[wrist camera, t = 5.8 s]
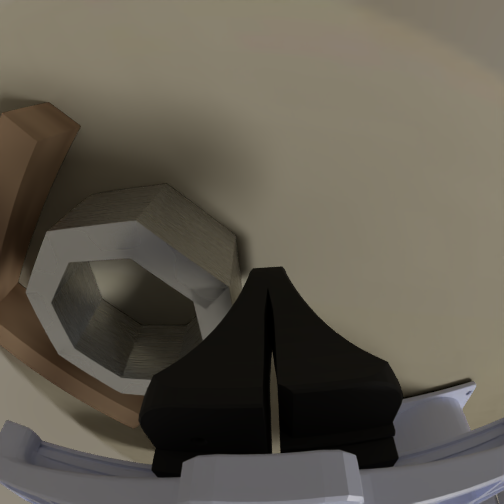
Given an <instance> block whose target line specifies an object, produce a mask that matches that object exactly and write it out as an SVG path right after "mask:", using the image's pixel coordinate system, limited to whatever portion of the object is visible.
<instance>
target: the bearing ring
mask: <svg viewBox="0 0 504 504" xmlns="http://www.w3.org/2000/svg"><path fill="white" fill-rule="evenodd" d="M127 258H131V259H132V260H133V261H135V262H136V263H138V264H139V265H141V266H142V267H143V268H145V269H146V270H148V271H149V272H151V273H152V274H153V275H155V276H156V277H158V278H159V279H161V280H162V281H164V282H165V283H167V284H168V285H170V286H171V287H172V288H174V289H175V290H177V291H178V292H180V293H181V294H183V295H184V296H186V297H187V298H189V299H190V300H192V301H193V302H194V306H195V310H196V315H197V316H196V317H195V318H194V319H193V320H192V321H191V322H190V323H189V324H188V325H170V326H142V325H140V324H139V323H137V322H136V321H134V320H133V319H131V318H129V317H128V316H126V315H125V314H123V313H122V312H120V311H119V310H117V309H116V308H114V307H113V306H112V305H110V304H109V303H107V302H106V301H104V300H103V299H102V297H101V294H100V292H99V289H98V286H97V284H96V281H95V278H94V276H93V273H92V270H91V267H90V264H89V262H88V261H97V260H112V259H127ZM241 291H242V283H241V275H240V267H239V258H238V250H237V242H236V235H234V234H233V233H232V232H230V231H229V230H228V229H226V228H225V227H224V226H222V225H221V224H220V223H218V222H217V221H216V220H214V219H213V218H212V217H210V216H209V215H208V214H206V213H205V212H204V211H202V210H201V209H200V208H198V207H197V206H196V205H194V204H193V203H192V202H190V201H189V200H188V199H186V198H185V197H184V196H182V195H181V194H180V193H178V192H177V191H176V190H174V189H173V188H172V187H170V186H169V185H168V184H160V185H152V186H144V187H137V188H130V189H123V190H117V191H110V192H104V193H98V194H92V195H90V196H89V197H88V198H86V199H85V200H84V201H83V202H81V203H80V204H79V205H78V206H76V207H75V208H74V209H73V210H71V211H70V212H69V213H68V214H67V215H65V216H64V217H63V218H62V219H61V220H59V221H58V222H57V223H56V224H55V225H54V226H52V227H51V228H50V229H49V230H48V231H47V232H46V235H45V237H44V240H43V242H42V245H41V248H40V250H39V253H38V256H37V259H36V262H35V265H34V267H33V270H32V273H31V277H30V280H29V283H28V286H27V289H26V294H27V297H28V299H29V301H30V303H31V305H32V307H33V309H34V311H35V313H36V315H37V317H38V319H39V321H40V322H41V324H42V326H43V328H44V330H45V332H46V333H47V335H48V337H49V339H50V341H51V342H52V344H53V346H54V348H55V349H56V351H57V353H58V354H59V355H60V356H62V357H63V358H65V359H66V360H68V361H69V362H71V363H72V364H74V365H75V366H77V367H78V368H80V369H81V370H83V371H85V372H86V373H88V374H89V375H91V376H93V377H94V378H96V379H98V380H99V381H101V382H103V383H104V384H106V385H108V386H109V387H111V388H113V389H115V390H116V391H118V392H120V393H123V394H134V395H145V393H146V390H147V388H148V386H149V384H150V381H151V379H152V377H153V375H155V374H157V373H158V372H160V371H162V370H163V369H165V368H167V367H168V366H170V365H172V364H173V363H175V362H177V361H178V360H179V359H181V358H182V357H184V356H185V355H186V354H188V353H189V352H190V351H191V350H193V349H194V348H195V347H196V346H198V345H199V344H200V343H201V342H202V341H203V340H204V339H205V338H206V337H207V336H208V335H209V334H210V333H211V332H212V331H213V330H214V329H215V328H216V326H217V325H218V324H219V323H220V322H221V321H222V319H223V318H224V317H225V315H226V314H227V313H228V311H229V310H230V308H231V307H232V305H233V304H234V303H235V301H236V299H237V298H238V296H239V294H240V292H241Z"/></svg>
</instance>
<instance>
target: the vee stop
mask: <svg viewBox="0 0 504 504" xmlns="http://www.w3.org/2000/svg"><path fill="white" fill-rule="evenodd" d="M80 127H81V126H80V125H79V124H77V123H76V122H75V121H73V120H72V119H71V118H69V117H68V116H67V115H65V114H64V113H63V112H61V111H60V110H59V109H57V108H56V107H54V106H53V105H52V104H50V103H49V102H48V103H43V104H38V105H33V106H29V107H24V108H20V109H16V110H12V111H8V112H4V113H2V115H1V117H0V345H1V346H3V347H4V348H5V349H6V350H8V351H9V352H10V353H11V354H13V355H14V356H15V357H17V358H18V359H19V360H21V361H22V362H23V363H25V364H26V365H27V366H29V367H30V368H32V369H33V370H34V371H36V372H37V373H39V374H40V375H41V376H43V377H44V378H46V379H47V380H49V381H50V382H52V383H53V384H55V385H56V386H58V387H60V388H61V389H63V390H64V391H66V392H67V393H69V394H71V395H72V396H74V397H76V398H77V399H79V400H81V401H82V402H84V403H86V404H87V405H89V406H91V407H93V408H95V409H96V410H98V411H100V412H102V413H104V414H105V415H107V416H109V417H111V418H113V419H115V420H117V421H119V422H121V423H123V424H125V425H127V426H129V427H131V428H133V429H134V428H136V427H137V426H138V425H140V423H139V421H138V419H139V413H140V409H141V406H142V402H143V399H144V395H134V394H123V393H120V392H118V391H116V390H115V389H113V388H111V387H109V386H108V385H106V384H104V383H103V382H101V381H99V380H98V379H96V378H94V377H93V376H91V375H89V374H88V373H86V372H85V371H83V370H81V369H80V368H78V367H77V366H75V365H74V364H72V363H71V362H69V361H68V360H66V359H65V358H63V357H62V356H60V355H59V354H58V353H57V351H56V349H55V348H54V346H53V344H52V342H51V341H50V339H49V337H48V335H47V333H46V332H45V330H44V328H43V326H42V324H41V322H40V321H39V319H38V317H37V315H36V313H35V311H34V309H33V307H32V305H31V303H30V301H29V299H28V297H27V294H26V289H25V288H24V287H23V286H22V285H20V284H19V283H18V281H19V277H20V273H21V270H22V266H23V263H24V260H25V257H26V253H27V250H28V247H29V244H30V241H31V238H32V235H33V232H34V230H35V227H36V224H37V221H38V219H39V216H40V213H41V211H42V208H43V206H44V203H45V201H46V198H47V196H48V193H49V191H50V189H51V186H52V184H53V182H54V180H55V177H56V175H57V173H58V171H59V169H60V166H61V164H62V162H63V160H64V158H65V156H66V154H67V152H68V150H69V148H70V146H71V144H72V142H73V140H74V138H75V136H76V134H77V132H78V131H79V129H80Z"/></svg>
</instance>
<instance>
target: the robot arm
mask: <svg viewBox="0 0 504 504" xmlns="http://www.w3.org/2000/svg"><path fill="white" fill-rule="evenodd" d="M272 351H273V358H274V364H275V371H276V377H277V386H278V404H279V427H280V451H281V453H277V454H272V437H271V407H270V372H271V358H272ZM475 388H476V384H475V382H474V381H472V382H468V383H465V384H461V385H458V386H454V387H451V388H447V389H443V390H440V391H436V392H432V393H428V394H423V395H419V396H415V397H410V398H406V399H403V394H402V390H401V387H400V384H399V382H398V379H397V378H396V376H395V374H394V372H393V370H392V369H391V367H390V365H389V364H388V362H387V361H385V360H382V359H380V358H378V357H376V356H374V355H372V354H370V353H368V352H366V351H364V350H362V349H360V348H359V347H357V346H355V345H354V344H352V343H350V342H349V341H347V340H346V339H345V338H343V337H342V336H341V335H339V334H338V333H336V332H335V331H334V330H333V329H332V328H330V327H329V326H328V325H327V324H326V323H325V322H324V321H323V320H322V319H320V318H319V317H318V316H317V314H316V313H315V312H314V311H313V310H312V309H311V308H310V307H309V306H308V304H307V303H306V302H305V301H304V300H303V298H302V297H301V296H300V294H299V293H298V291H297V290H296V289H295V287H294V286H293V284H292V283H291V281H290V279H289V277H288V276H287V274H286V271H285V269H284V268H283V267H268V268H253V269H252V270H251V271H250V274H249V276H248V279H247V281H246V283H245V285H244V287H243V289H242V291H241V292H240V294H239V296H238V298H237V299H236V301H235V303H234V304H233V305H232V307H231V308H230V310H229V311H228V313H227V314H226V315H225V317H224V318H223V319H222V321H221V322H220V323H219V324H218V325H217V326H216V328H215V329H214V330H213V331H212V332H211V333H210V334H209V335H208V336H207V337H206V338H205V339H204V340H203V341H202V342H201V343H200V344H199V345H198V346H196V347H195V348H194V349H193V350H191V351H190V352H189V353H188V354H186V355H185V356H184V357H182V358H181V359H179V360H178V361H177V362H175V363H173V364H172V365H170V366H168V367H167V368H165V369H163V370H162V371H160V372H158V373H157V374H155V375H153V377H152V379H151V381H150V384H149V386H148V388H147V390H146V393H145V395H144V399H143V402H142V406H141V409H140V413H139V419H138V421H139V423H140V426H141V428H142V429H143V431H144V432H145V433H146V435H147V436H148V438H149V439H150V441H151V442H152V443H153V445H154V446H155V447H156V449H155V454H154V459H153V463H152V465H150V464H143V463H136V462H130V461H123V460H118V459H113V458H108V457H103V456H98V455H94V454H90V453H85V452H81V451H77V450H73V449H69V448H66V447H62V446H59V445H55V444H52V443H48V442H45V441H42V440H41V439H40V437H39V436H38V435H37V434H36V433H35V432H34V431H32V430H31V429H30V428H28V427H25V426H23V425H20V424H17V423H14V422H12V421H9V420H7V421H6V422H5V424H4V426H3V428H2V430H1V432H0V483H1V484H2V485H3V486H5V487H6V488H8V489H9V490H11V491H12V492H14V493H15V494H17V495H18V496H20V497H21V498H23V499H24V500H26V501H28V502H31V503H33V504H504V418H501V419H499V420H497V421H494V422H492V423H490V424H487V425H485V426H482V427H480V428H477V429H474V430H472V431H471V430H470V427H469V425H468V422H467V420H466V417H465V415H464V413H463V410H462V408H463V407H464V405H465V404H466V402H467V400H468V399H469V397H470V396H471V394H472V393H473V391H474V389H475ZM496 494H497V496H498V500H499V503H498V500H497V497H496Z"/></svg>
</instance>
